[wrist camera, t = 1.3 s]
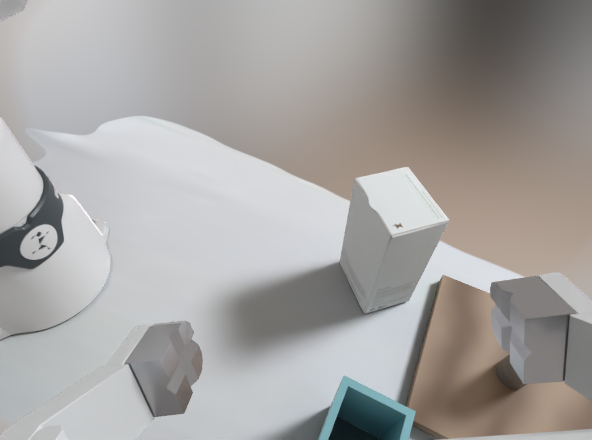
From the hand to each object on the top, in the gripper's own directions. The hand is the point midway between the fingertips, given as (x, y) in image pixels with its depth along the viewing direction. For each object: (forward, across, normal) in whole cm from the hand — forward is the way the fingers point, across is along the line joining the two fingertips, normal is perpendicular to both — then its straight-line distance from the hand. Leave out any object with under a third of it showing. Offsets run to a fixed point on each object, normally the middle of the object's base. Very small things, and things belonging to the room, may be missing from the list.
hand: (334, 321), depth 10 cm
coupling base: (+24, -14, +29) cm, 40 cm away
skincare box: (+34, -2, +20) cm, 39 cm away
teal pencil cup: (+16, +3, +28) cm, 32 cm away
